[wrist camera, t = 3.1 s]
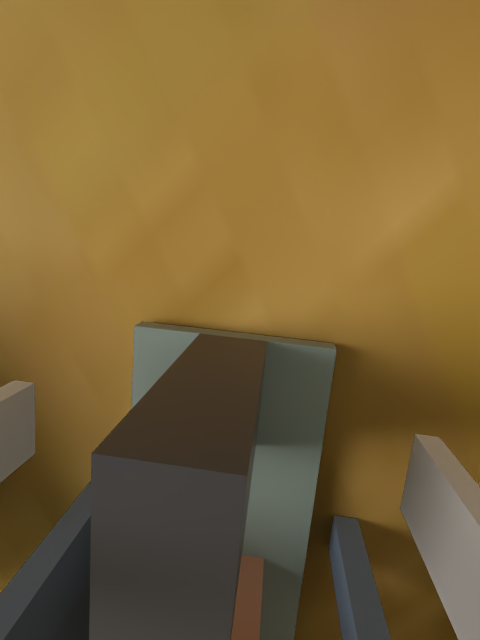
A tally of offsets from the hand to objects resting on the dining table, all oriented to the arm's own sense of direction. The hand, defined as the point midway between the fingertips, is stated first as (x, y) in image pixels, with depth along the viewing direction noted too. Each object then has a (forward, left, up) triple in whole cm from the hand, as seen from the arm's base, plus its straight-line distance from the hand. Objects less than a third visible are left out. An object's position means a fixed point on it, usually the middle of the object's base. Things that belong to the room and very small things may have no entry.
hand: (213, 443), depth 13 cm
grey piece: (+7, 0, -6) cm, 9 cm away
